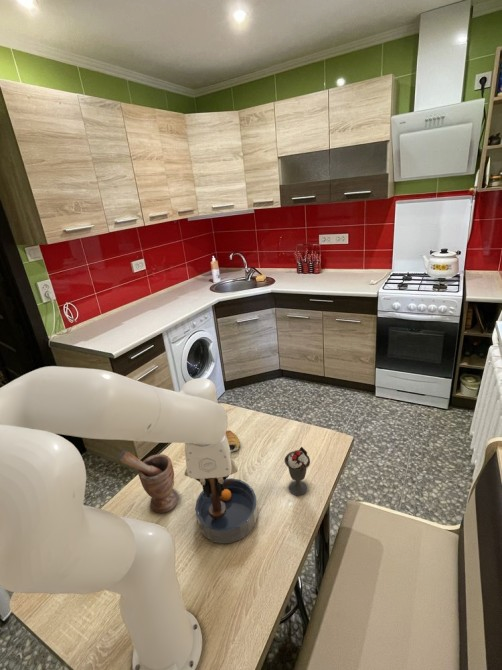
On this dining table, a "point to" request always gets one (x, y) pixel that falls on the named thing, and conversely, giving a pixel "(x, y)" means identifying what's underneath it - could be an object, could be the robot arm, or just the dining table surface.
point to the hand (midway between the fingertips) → (214, 491)
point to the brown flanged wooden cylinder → (215, 501)
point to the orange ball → (226, 495)
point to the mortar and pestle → (155, 479)
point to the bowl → (229, 513)
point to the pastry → (232, 441)
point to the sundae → (297, 470)
